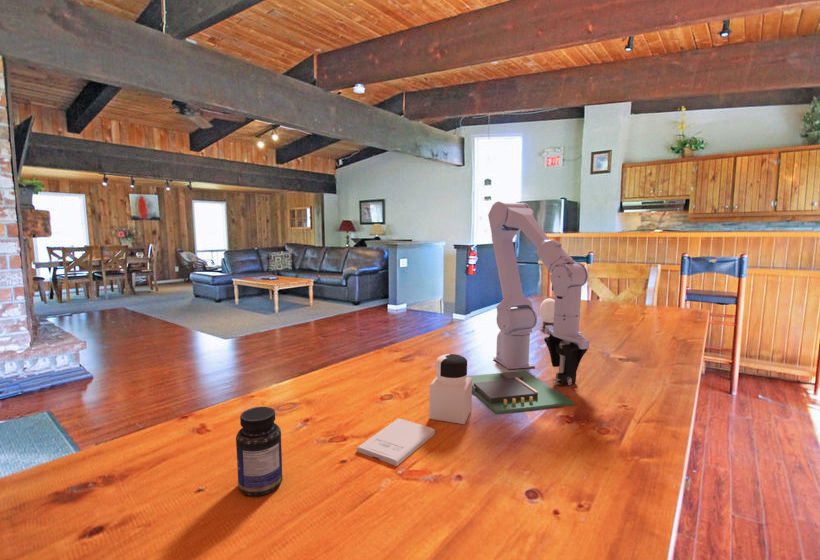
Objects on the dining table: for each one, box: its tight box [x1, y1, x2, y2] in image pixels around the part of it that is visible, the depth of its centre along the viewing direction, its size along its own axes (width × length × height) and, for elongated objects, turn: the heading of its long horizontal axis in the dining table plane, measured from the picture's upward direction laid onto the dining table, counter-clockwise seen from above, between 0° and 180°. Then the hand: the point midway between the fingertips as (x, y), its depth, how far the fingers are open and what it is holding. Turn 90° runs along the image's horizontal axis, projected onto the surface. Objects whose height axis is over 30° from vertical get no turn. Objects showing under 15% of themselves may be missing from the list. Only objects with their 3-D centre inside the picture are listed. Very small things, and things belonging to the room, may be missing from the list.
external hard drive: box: [356, 418, 436, 467], centre depth 75 cm, size 2×8×12 cm
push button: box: [552, 341, 577, 387], centre depth 102 cm, size 7×5×10 cm
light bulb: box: [539, 297, 555, 329], centre depth 158 cm, size 7×7×11 cm
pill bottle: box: [235, 406, 283, 497], centre depth 61 cm, size 6×6×11 cm
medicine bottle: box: [428, 353, 473, 425], centre depth 85 cm, size 7×7×12 cm
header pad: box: [474, 377, 538, 404], centre depth 95 cm, size 9×11×2 cm
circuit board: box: [467, 370, 575, 415], centre depth 98 cm, size 20×18×2 cm
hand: (563, 370), depth 102 cm, fingers closed on push button, 5 cm apart
